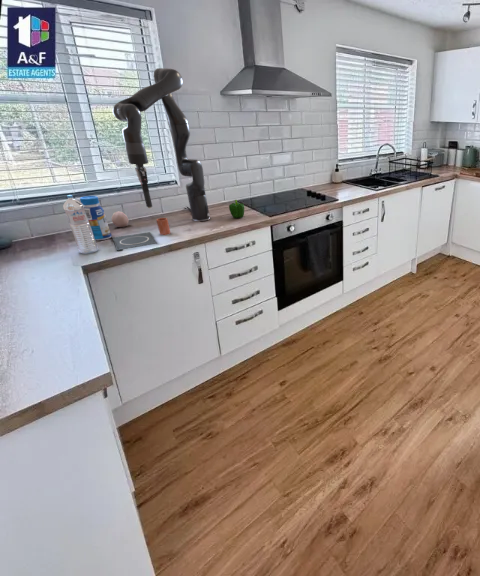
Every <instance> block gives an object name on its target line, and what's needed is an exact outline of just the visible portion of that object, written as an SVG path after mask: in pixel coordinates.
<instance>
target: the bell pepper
mask: <svg viewBox="0 0 480 576" xmlns="http://www.w3.org/2000/svg"><path fill="white" fill-rule="evenodd" d="M228 209H229V212H230V215H231V216H232V218H234V219H238V218H243V217H244V215H245V205H244V203H243V202H241V203H240V202H238V200H237V199H234V202H231V204H229V205H228Z"/></svg>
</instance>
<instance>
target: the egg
mask: <svg viewBox="0 0 480 576" xmlns="http://www.w3.org/2000/svg"><path fill="white" fill-rule="evenodd" d="M111 222H112V224H113V225H115V227H117V228H124V227H126V226H128V224H129V217H128V216H127V215H126V213H124V212H122V211H115V212H113V214H112V216H111Z"/></svg>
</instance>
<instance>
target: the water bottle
mask: <svg viewBox="0 0 480 576" xmlns="http://www.w3.org/2000/svg"><path fill="white" fill-rule="evenodd" d="M66 197H67V199H66V201H65V202H64V203H63V205H62V208H63V210H64V212H65V215H66V218H67V222H68V224H69V227H70V231H71V233H72V235H73V238H74V241H75V244H76V247H77V249H78V251H79V254H82V255H88V254H89V255H90V254H94V253H97V252H98V251H99V248H98V247H99V246H98V244H97V240H95V238H94V235H93V232H92V229H91V226H90V223H89V221H88V218H87V215H86V212H85V209H84V205H83V204H82V203H81V201H80V200H78V199H76V198H74V196H73V194H68V195H66Z"/></svg>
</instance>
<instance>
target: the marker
mask: <svg viewBox="0 0 480 576" xmlns="http://www.w3.org/2000/svg"><path fill="white" fill-rule="evenodd" d="M140 182H141V180H140V181H139V183H140ZM141 185H142V184H141V183H140V186H141ZM141 190H142V193H143V198H144V202H145V205H146V208H147V209H152V208H153V203H152V199H151V194H150V191H149V192H144V191H143V187H141Z"/></svg>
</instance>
